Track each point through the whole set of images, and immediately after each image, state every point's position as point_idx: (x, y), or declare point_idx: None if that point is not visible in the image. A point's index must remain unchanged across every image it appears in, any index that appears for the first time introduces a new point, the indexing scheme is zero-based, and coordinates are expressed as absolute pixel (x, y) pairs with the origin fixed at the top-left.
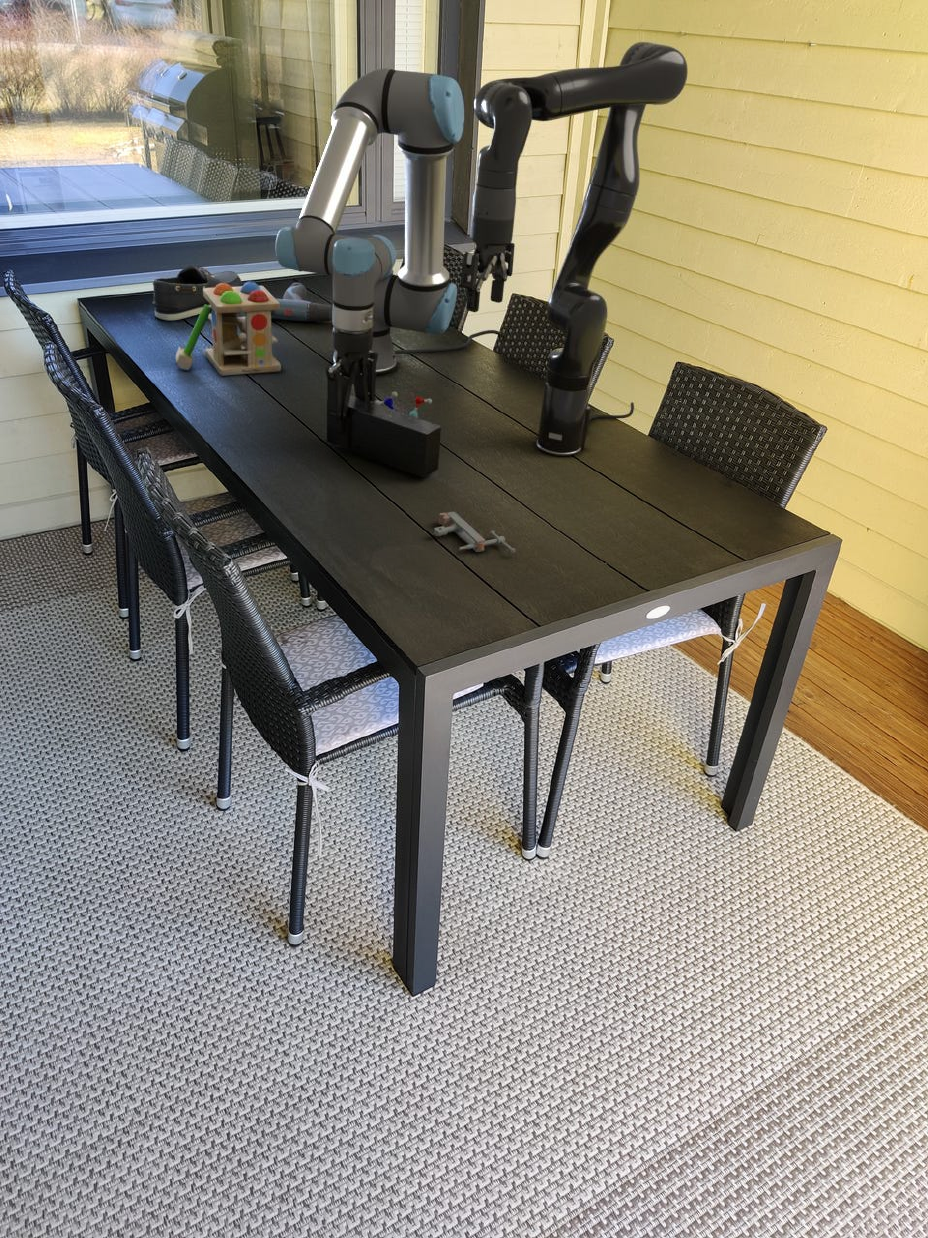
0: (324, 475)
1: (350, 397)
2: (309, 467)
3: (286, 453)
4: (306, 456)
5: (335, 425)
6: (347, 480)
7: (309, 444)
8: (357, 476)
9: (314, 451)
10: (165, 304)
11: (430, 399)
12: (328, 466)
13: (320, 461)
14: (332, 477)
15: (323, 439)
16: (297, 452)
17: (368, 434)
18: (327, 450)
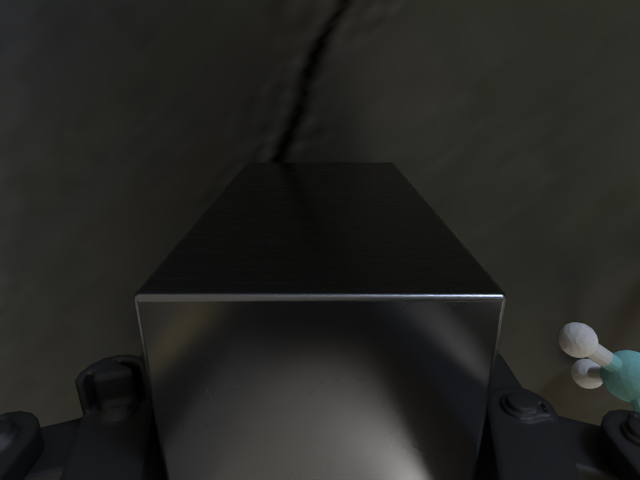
0: (30, 330)
1: (414, 460)
2: (23, 233)
3: (23, 18)
4: (95, 137)
5: (142, 355)
6: (82, 415)
7: (221, 40)
8: None
9: (174, 128)
10: None
11: None
12: (108, 289)
13: (114, 229)
14: (47, 363)
15: (335, 57)
16: (87, 62)
17: None
18: (237, 173)
